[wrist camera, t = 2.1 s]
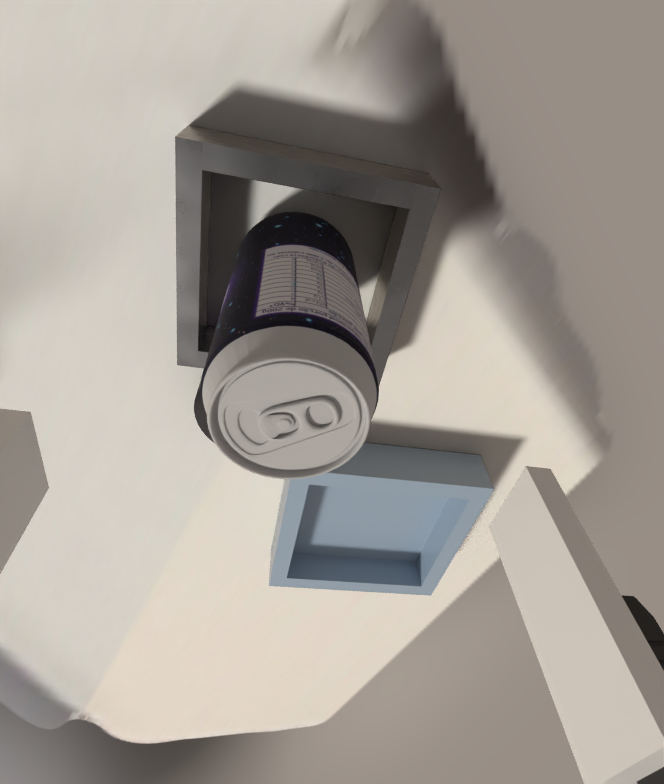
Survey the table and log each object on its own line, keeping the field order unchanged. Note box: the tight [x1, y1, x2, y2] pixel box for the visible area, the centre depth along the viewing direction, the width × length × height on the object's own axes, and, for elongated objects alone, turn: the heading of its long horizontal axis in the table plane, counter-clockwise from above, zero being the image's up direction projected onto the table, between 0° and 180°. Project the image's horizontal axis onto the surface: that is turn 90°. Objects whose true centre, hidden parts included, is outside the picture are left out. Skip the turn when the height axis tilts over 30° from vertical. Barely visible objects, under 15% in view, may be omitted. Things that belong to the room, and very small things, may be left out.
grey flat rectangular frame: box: [175, 125, 441, 443], centre depth 25 cm, size 17×10×3 cm, turn 169°
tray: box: [269, 443, 494, 595], centre depth 34 cm, size 13×13×3 cm
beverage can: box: [201, 212, 379, 479], centre depth 19 cm, size 6×6×12 cm
